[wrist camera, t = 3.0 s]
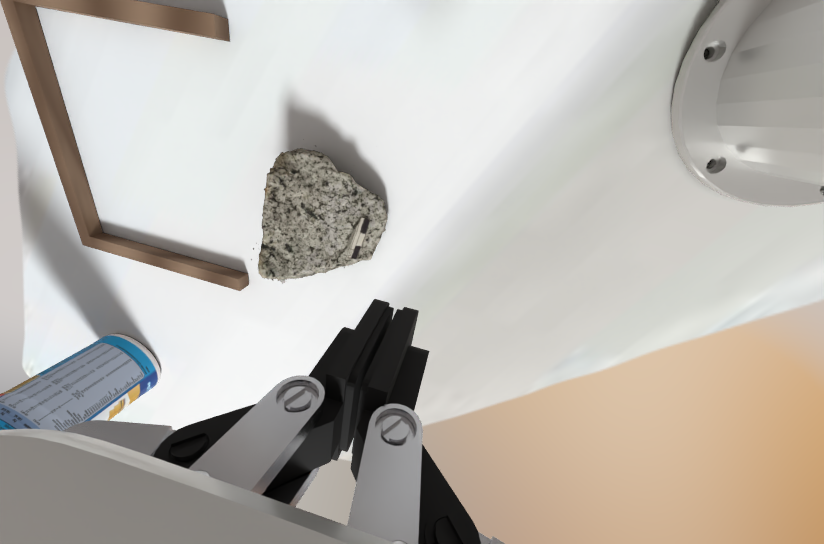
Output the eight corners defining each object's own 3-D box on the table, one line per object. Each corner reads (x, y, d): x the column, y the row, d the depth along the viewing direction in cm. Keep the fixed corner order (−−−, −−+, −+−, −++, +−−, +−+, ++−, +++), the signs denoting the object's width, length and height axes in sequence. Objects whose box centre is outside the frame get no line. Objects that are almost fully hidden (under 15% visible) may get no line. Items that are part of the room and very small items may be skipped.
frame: (227, 19, 21) (213, 13, 20) (248, 284, 30) (239, 290, 29) (15, -18, 23) (-8, -24, 22) (96, 240, 32) (82, 245, 31)
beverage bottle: (154, 339, 37) (-154, 539, 19) (171, 391, 41) (-73, 598, 23) (95, 323, 38) (-244, 497, 21) (117, 375, 42) (-153, 559, 25)
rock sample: (391, 307, 23) (258, 297, 18) (347, 288, 29) (239, 277, 24) (417, 162, 22) (288, 109, 17) (367, 175, 29) (261, 139, 24)
